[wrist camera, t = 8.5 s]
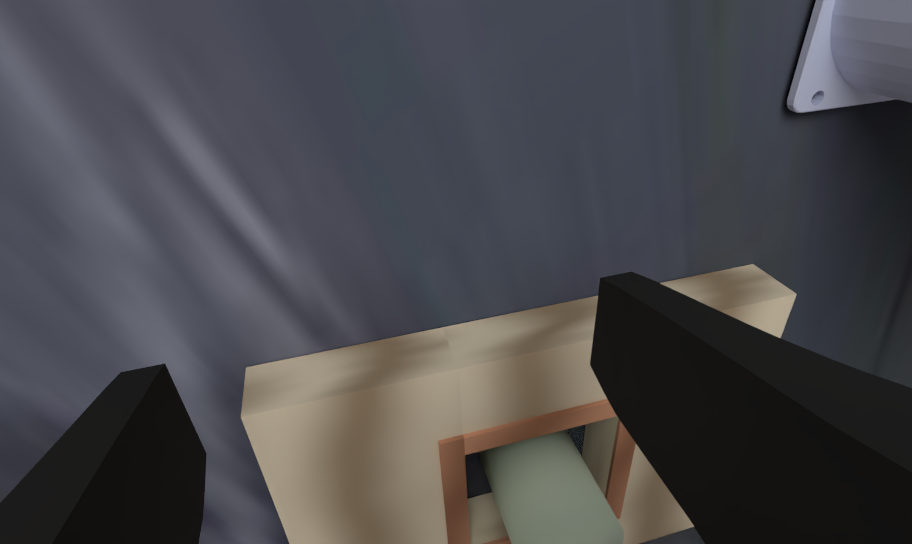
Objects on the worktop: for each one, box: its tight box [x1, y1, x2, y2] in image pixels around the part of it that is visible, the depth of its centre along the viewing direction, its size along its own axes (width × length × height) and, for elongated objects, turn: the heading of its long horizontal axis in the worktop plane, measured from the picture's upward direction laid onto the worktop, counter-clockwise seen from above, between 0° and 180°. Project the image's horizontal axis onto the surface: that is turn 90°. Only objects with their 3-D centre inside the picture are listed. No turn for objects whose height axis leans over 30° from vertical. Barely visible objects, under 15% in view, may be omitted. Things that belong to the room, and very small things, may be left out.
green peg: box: [478, 429, 624, 544], centre depth 23 cm, size 4×4×6 cm
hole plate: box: [241, 264, 797, 544], centre depth 25 cm, size 22×16×3 cm
